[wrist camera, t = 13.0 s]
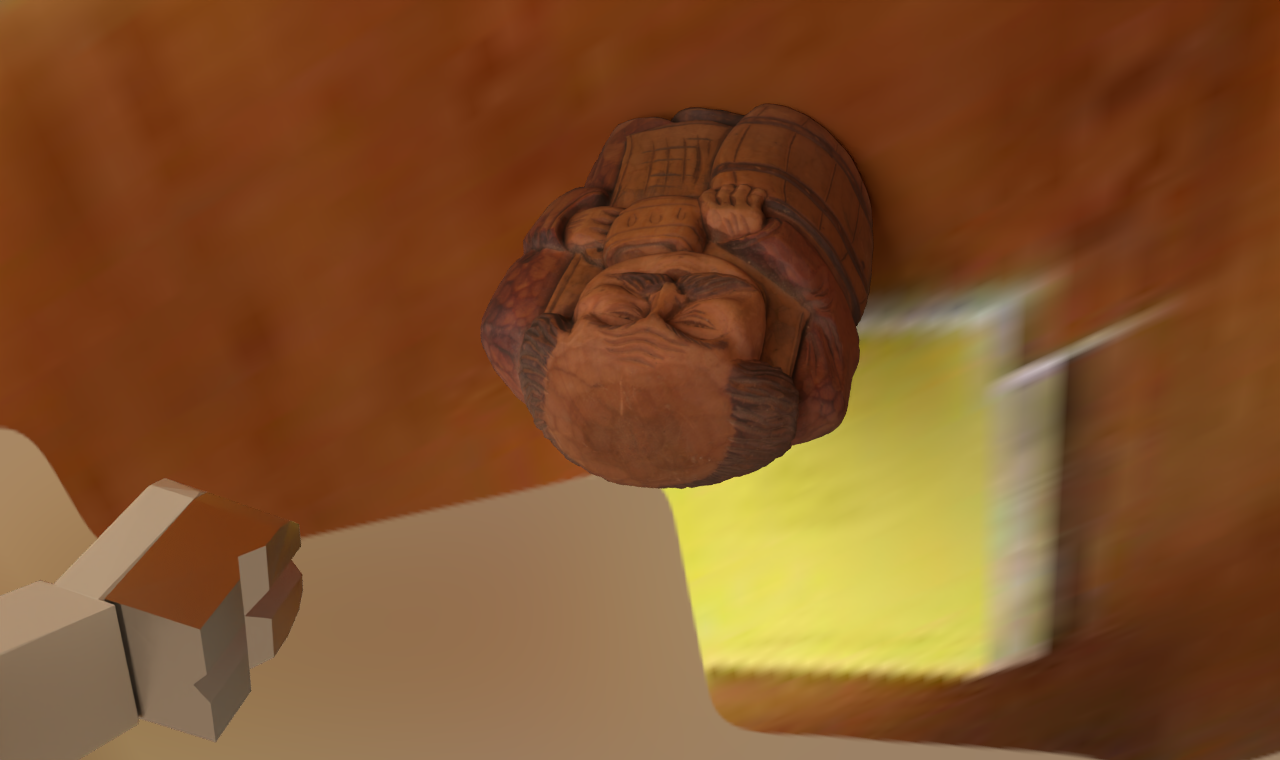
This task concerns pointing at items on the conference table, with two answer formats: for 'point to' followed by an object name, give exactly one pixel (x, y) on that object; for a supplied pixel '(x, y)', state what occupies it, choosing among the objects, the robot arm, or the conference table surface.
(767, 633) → the conference table surface
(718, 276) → the wooden figurine
